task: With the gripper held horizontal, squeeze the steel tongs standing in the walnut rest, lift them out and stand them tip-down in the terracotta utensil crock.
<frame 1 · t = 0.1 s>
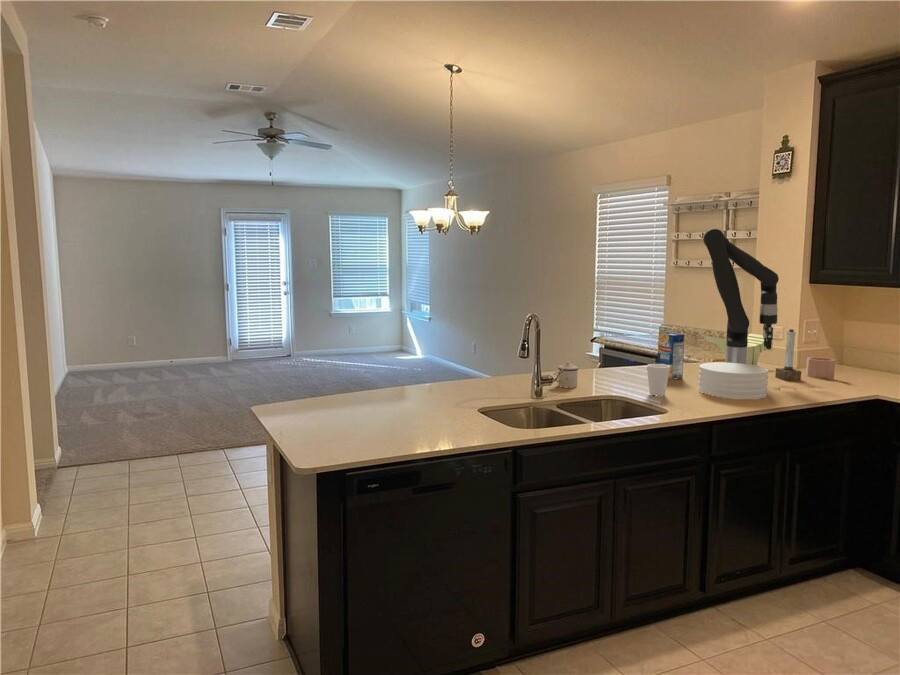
hand: (767, 347, 301), 17 cm above the countertop, tool pointing down, fingers open, 8 cm apart
tongs: (787, 378, 307), point 1 cm above the countertop, touching tong rest
tong rest: (787, 381, 307), on the countertop
plate stack: (731, 393, 283), on the countertop
utensil crock: (819, 378, 314), on the countertop
teacup with lid: (564, 387, 295), on the countertop
slatted curved stool: (737, 369, 341), on the countertop
foam cup: (657, 395, 278), on the countertop
beverage box: (669, 377, 318), on the countertop
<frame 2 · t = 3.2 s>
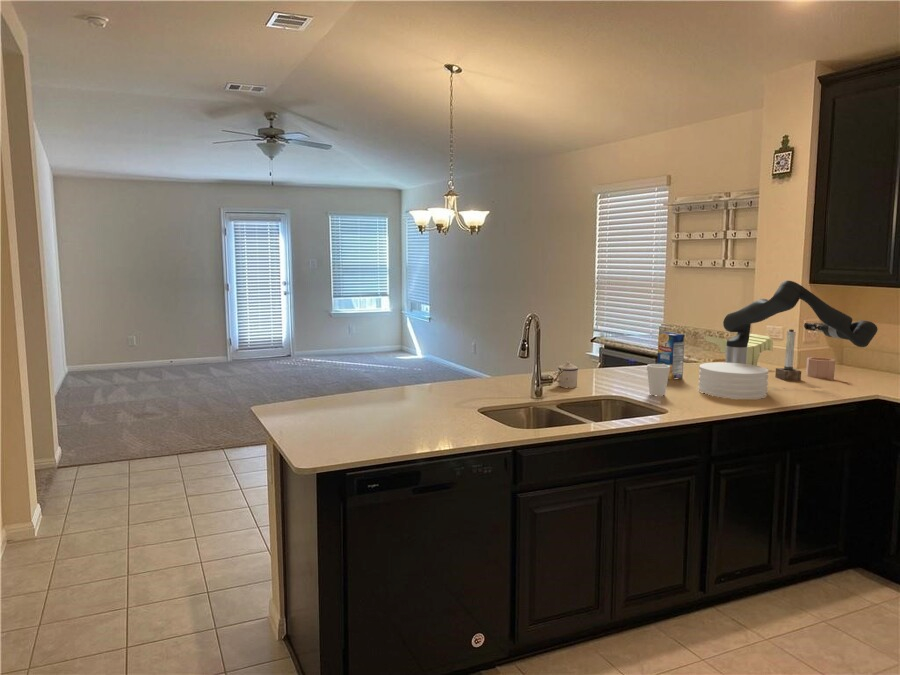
hand: (814, 325, 286), 30 cm above the countertop, tool horizontal, fingers open, 8 cm apart
nothing on the countertop moved.
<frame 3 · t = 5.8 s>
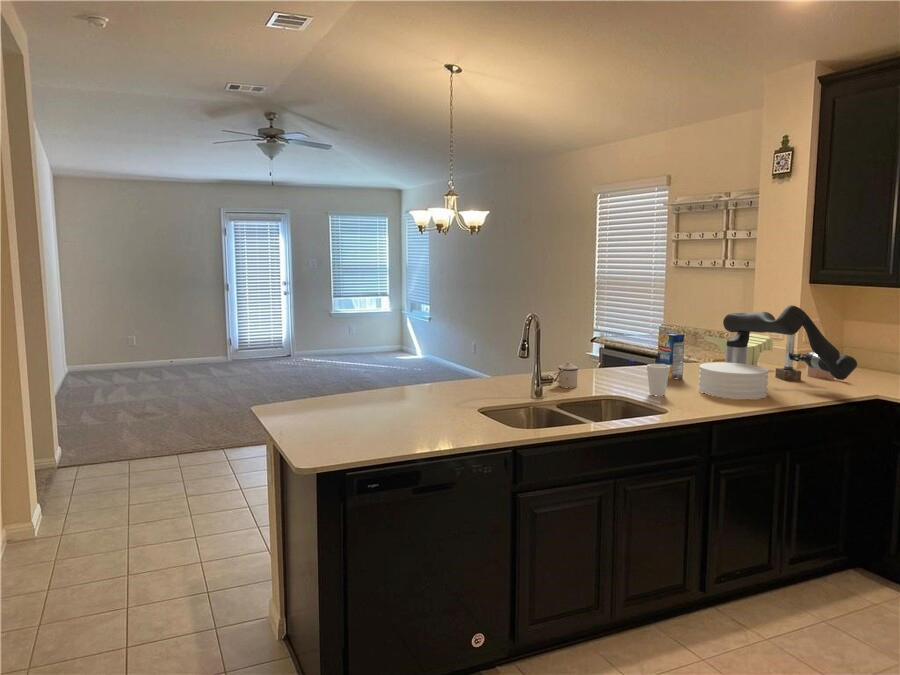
hand: (798, 355, 298), 14 cm above the countertop, tool horizontal, fingers open, 8 cm apart
nothing on the countertop moved.
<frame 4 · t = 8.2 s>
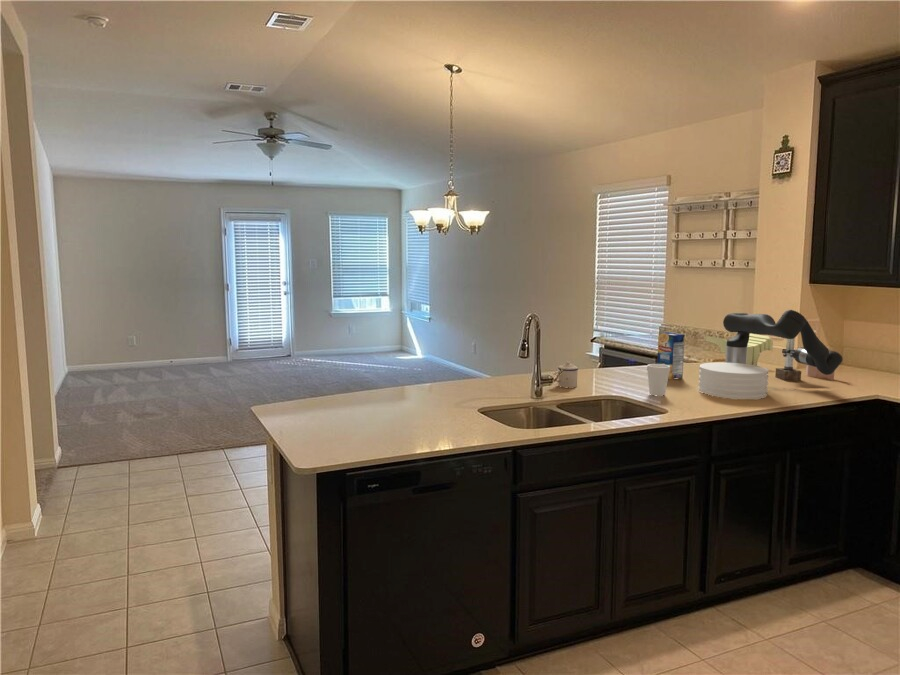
hand: (786, 350, 308), 15 cm above the countertop, tool horizontal, fingers closed on tongs, 2 cm apart
tongs: (787, 378, 307), point 2 cm above the countertop, touching gripper, tong rest
everything else where it was.
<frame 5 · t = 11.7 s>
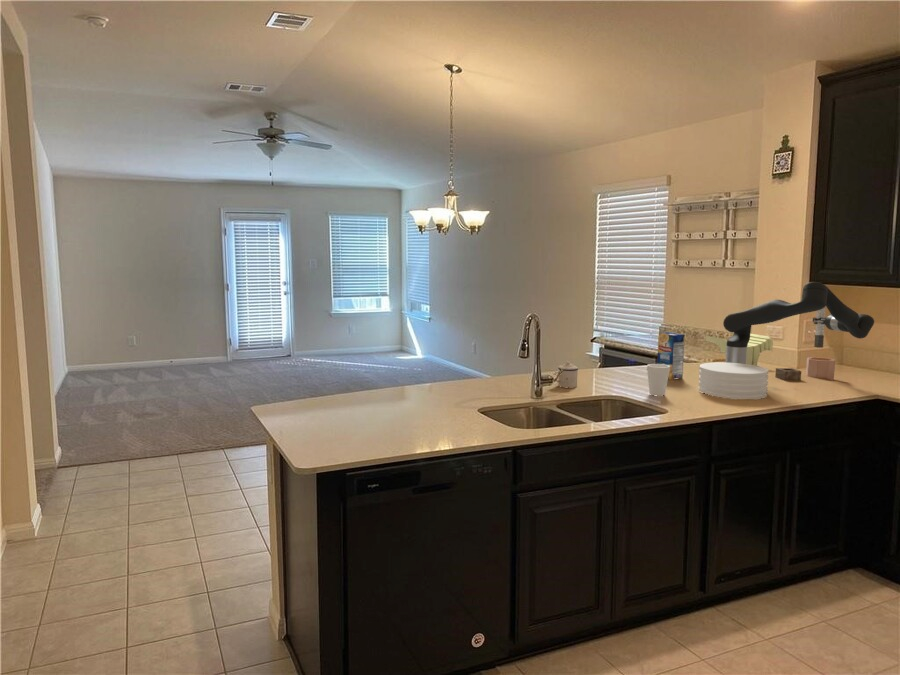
hand: (816, 319, 310), 30 cm above the countertop, tool horizontal, fingers closed on tongs, 2 cm apart
tongs: (818, 347, 309), point 16 cm above the countertop, touching gripper
everything else where it was.
when the fingers open (16 cm above the countertop, at t = 15.5 s): tongs drops 2 cm, resting on utensil crock.
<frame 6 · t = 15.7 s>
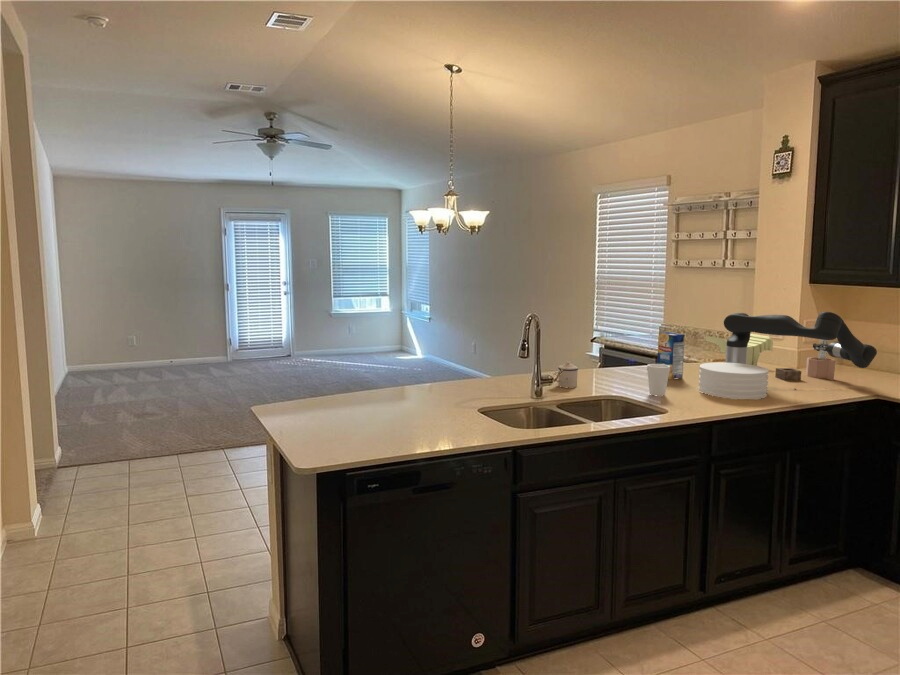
hand: (818, 345, 315), 16 cm above the countertop, tool horizontal, fingers open, 4 cm apart
tongs: (819, 376, 314), point 1 cm above the countertop, touching utensil crock
everything else where it was.
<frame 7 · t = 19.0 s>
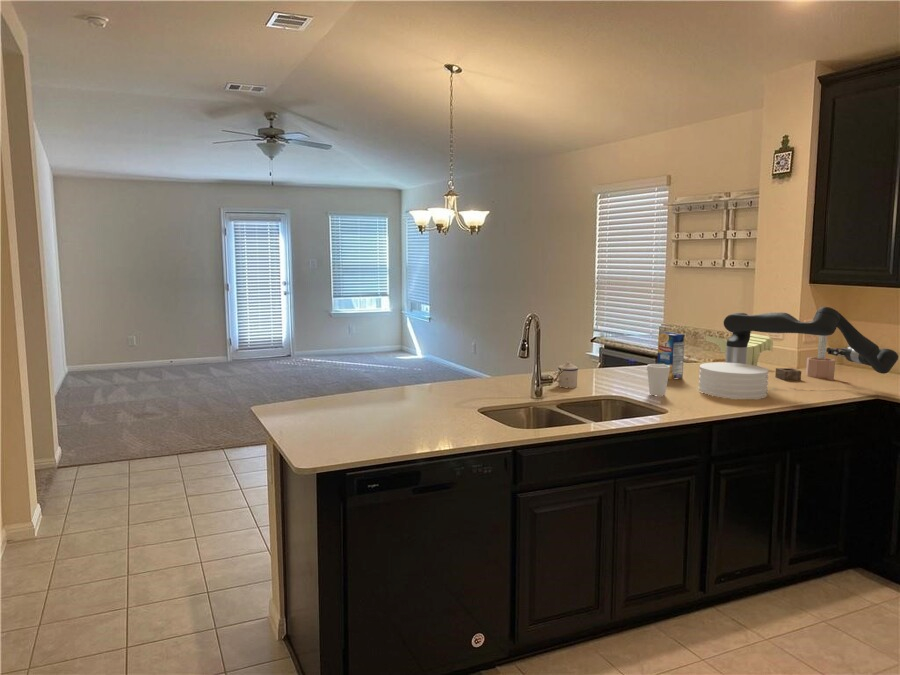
hand: (836, 349, 301), 16 cm above the countertop, tool horizontal, fingers open, 8 cm apart
nothing on the countertop moved.
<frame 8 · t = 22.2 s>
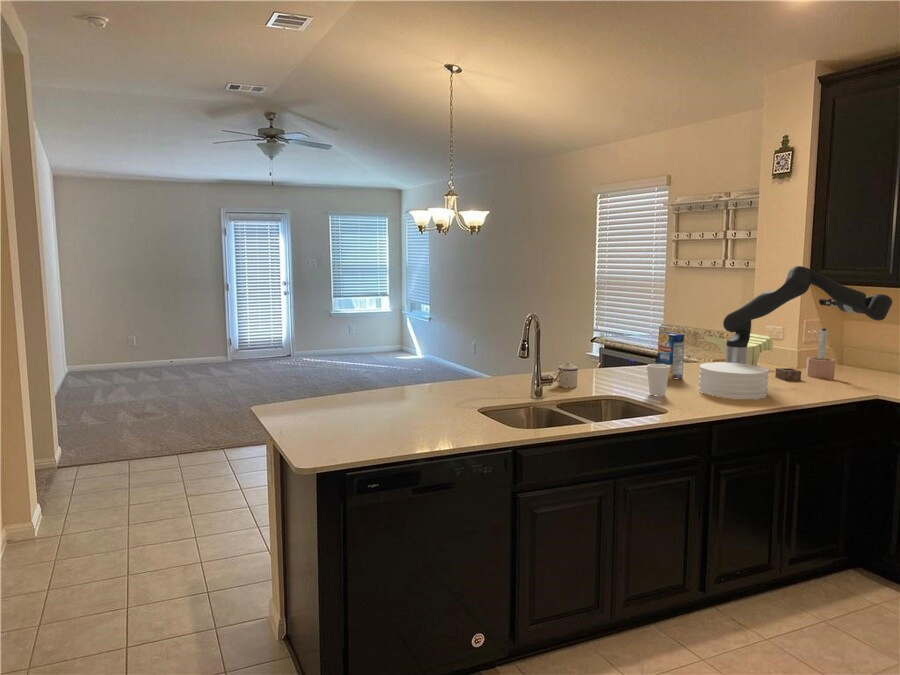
hand: (829, 301, 290), 40 cm above the countertop, tool horizontal, fingers open, 8 cm apart
nothing on the countertop moved.
at the end: tongs inside the target area on the utensil crock (0.1 cm from its centre), point 1.2 cm above the utensil crock's base; tongs tilted 0°; the gripper is holding nothing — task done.
